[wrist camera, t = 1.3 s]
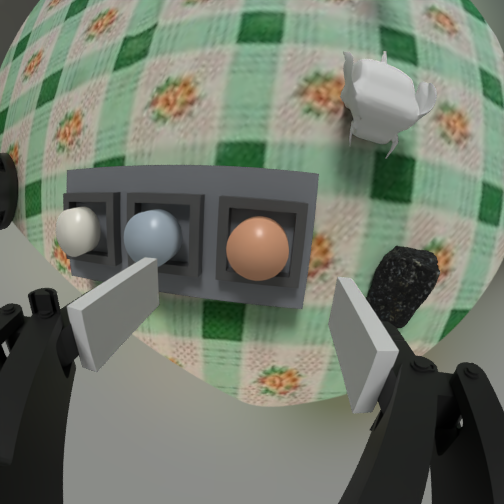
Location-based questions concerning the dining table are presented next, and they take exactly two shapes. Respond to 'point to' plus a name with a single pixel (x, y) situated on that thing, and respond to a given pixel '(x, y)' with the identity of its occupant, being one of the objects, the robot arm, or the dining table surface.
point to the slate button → (153, 236)
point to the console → (199, 225)
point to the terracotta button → (258, 248)
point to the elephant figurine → (383, 99)
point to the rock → (402, 284)
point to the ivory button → (78, 231)
